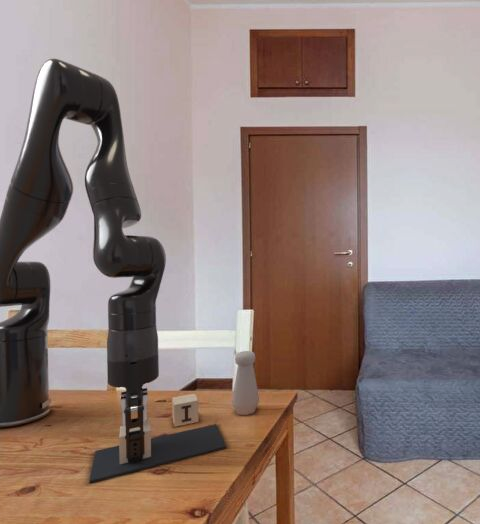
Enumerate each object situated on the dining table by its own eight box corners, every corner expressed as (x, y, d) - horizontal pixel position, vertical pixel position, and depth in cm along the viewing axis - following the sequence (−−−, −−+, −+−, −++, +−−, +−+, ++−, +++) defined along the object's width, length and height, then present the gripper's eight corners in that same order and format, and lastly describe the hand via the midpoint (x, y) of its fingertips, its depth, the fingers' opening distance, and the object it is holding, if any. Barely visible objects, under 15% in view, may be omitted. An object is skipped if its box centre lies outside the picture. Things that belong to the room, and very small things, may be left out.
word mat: (89, 483, 56) (89, 480, 56) (95, 453, 65) (95, 450, 65) (226, 448, 66) (226, 445, 66) (215, 425, 75) (215, 424, 75)
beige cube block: (174, 427, 74) (174, 404, 74) (172, 418, 78) (172, 397, 78) (198, 422, 76) (198, 400, 76) (195, 413, 80) (195, 393, 80)
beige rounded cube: (119, 464, 60) (119, 437, 60) (120, 452, 64) (120, 426, 64) (151, 457, 62) (150, 430, 62) (150, 445, 66) (149, 420, 66)
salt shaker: (251, 418, 78) (251, 356, 78) (226, 415, 79) (226, 355, 79) (263, 406, 84) (263, 349, 84) (240, 405, 85) (239, 348, 85)
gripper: (109, 347, 67) (111, 440, 68) (103, 367, 55) (106, 481, 55) (156, 342, 71) (158, 430, 71) (160, 360, 59) (162, 467, 59)
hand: (135, 452), depth 63 cm, fingers closed on beige rounded cube, 4 cm apart
